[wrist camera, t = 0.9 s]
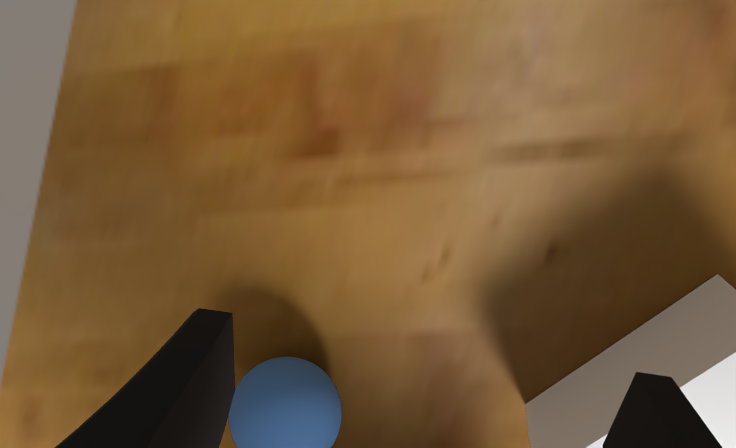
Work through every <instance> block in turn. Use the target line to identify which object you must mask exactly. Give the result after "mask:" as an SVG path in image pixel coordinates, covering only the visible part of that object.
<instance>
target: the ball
mask: <svg viewBox="0 0 736 448" xmlns="http://www.w3.org/2000/svg"><path fill="white" fill-rule="evenodd" d="M341 419H342V407H341V401H340V397H339V394H338V391H337V389H336V386H335V385H334V383H333V381H332V380H331V379H330V377H329V376H328V375H327V374H326V373H325V372H324V371H323V370H322V369H321V368H320V367H318V366H317V365H315V364H313V363H312V362H309V361H307V360H304V359H301V358H296V357H278V358H273V359H270V360H267V361H264V362H262V363H260V364H258V365H257V366H255V367H254V368H252V369H251V370H250V371H249V372H248V373H247V374H246V375H245V376H244V377H243V378H242V379H241V381H240V382H239V384H238V385H237V387H236V389H235V392H234V396H233V400H232V403H231V407H230V411H229V427H230V432H231V435H232V438H233V440H234V442H235V444H236V446H237V448H331V447H332V445H333V444H334V442H335V440H336V438H337V436H338V433H339V429H340V425H341Z"/></svg>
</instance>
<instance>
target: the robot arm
mask: <svg viewBox="0 0 736 448" xmlns="http://www.w3.org/2000/svg"><path fill="white" fill-rule="evenodd" d="M234 392H235V372H234V345H233V317H232V313H228V312H221V311H214V310H208V309H201V308H199V309H197V310H196V311H194V312H193V313H192V314H191V316H190V317H189V318H188V319H187V320H186V321H185V322H184V323H183V325H182V326H181V327H180V328H179V329H178V330H177V331H176V332H175V334H174V335H173V336H172V337H171V338H170V339H169V340H168V341H167V342H166V343H165V344H164V346H163V347H162V348H161V349H160V350H159V351H158V352H157V353H156V354H155V355H154V356H153V357H152V358H151V359H150V360H149V361H148V362H147V363H146V364H145V365H144V366H143V367H142V368H141V369H140V370H139V371H138V372H137V373H136V374H135V375H134V376H133V377H132V378H131V379H130V380H129V381H128V382H127V383H126V384H125V385H124V386H123V387H122V388H121V389H120V390H119V391H118V392H117V393H116V394H115V395H114V396H113V397H112V398H111V399H110V400H109V401H108V402H106V403H105V404H104V405H103V406H102V407H101V408H100V409H99V410H97V411H96V412H95V413H94V414H93V415H92V416H91V417H90V418H89V419H87V420H86V421H85V422H84V423H83V424H82V425H81V426H80V427H79V428H77V429H76V430H75V431H74V432H73V433H72V434H71V435H69V436H68V437H67V438H66V439H65V440H63V441H62V442H61V443H60V444H59V445H57V446H56V447H55V448H218V447H219V445H220V442H221V439H222V436H223V432H224V429H225V425H226V422H227V418H228V414H229V411H230V407H231V403H232V400H233V396H234ZM603 448H722V446H721V445H720V443H719V442H718V441H717V439H716V438H715V437H714V435H713V434H712V432H711V431H710V430H709V428H708V427H707V426H706V424H705V423H704V421H703V420H702V419H701V417H700V416H699V414H698V413H697V412H696V410H695V409H694V407H693V406H692V405H691V403H690V402H689V400H688V399H687V398H686V396H685V395H684V394H683V392H682V391H681V389H680V388H679V387H678V385H677V384H676V382H675V381H674V380H673V378H672V377H669V376H662V375H655V374H648V373H641V372H636V373H635V375H634V378H633V380H632V382H631V384H630V386H629V389H628V391H627V393H626V395H625V397H624V399H623V402H622V404H621V406H620V408H619V410H618V413H617V415H616V417H615V419H614V421H613V423H612V426H611V428H610V430H609V432H608V434H607V437H606V439H605V441H604V443H603Z"/></svg>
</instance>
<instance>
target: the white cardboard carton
mask: <svg viewBox="0 0 736 448" xmlns="http://www.w3.org/2000/svg"><path fill="white" fill-rule="evenodd" d="M636 372H641V373H648V374H655V375H662V376H669V377H672V378H673V380H674V381H675V382H676V384H677V385H678V387H679V388H680V389H681V391H682V392H683V394H684V395H685V396H686V398H687V399H688V400H689V402H690V403H691V405H692V406H693V407H694V409H695V410H696V412H697V413H698V414H699V416H700V417H701V419H702V420H703V421H704V423H705V424H706V426H707V427H708V428H709V430H710V431H711V432H712V434H713V435H714V437H715V438H716V439H717V441H718V442H719V443H720V445H721V446H722V448H736V290H735V289H734V288H733V287H732V286H731V285H730V284H729V283H727V282H726V281H725V280H724V279H723V278H722V277H721V276H720V275H718V274H717V275H715V276H714V277H712V278H711V279H709V280H708V281H706V282H705V283H703V284H702V285H701V286H699V287H698V288H696V289H695V290H693V291H692V292H690V293H689V294H687V295H686V296H684V297H683V298H681V299H680V300H678V301H677V302H675V303H674V304H672V305H671V306H669V307H668V308H667V309H665V310H664V311H662V312H661V313H659V314H658V315H656V316H655V317H653V318H652V319H650V320H649V321H647V322H646V323H644V324H643V325H641V326H640V327H638V328H637V329H636V330H634V331H633V332H631V333H630V334H628V335H627V336H625V337H624V338H622V339H621V340H619V341H618V342H616V343H615V344H613V345H612V346H610V347H609V348H607V349H606V350H604V351H603V352H602V353H600V354H599V355H597V356H596V357H594V358H593V359H591V360H590V361H588V362H587V363H585V364H584V365H582V366H581V367H579V368H578V369H576V370H575V371H573V372H572V373H571V374H569V375H568V376H566V377H565V378H563V379H562V380H560V381H559V382H557V383H556V384H554V385H553V386H551V387H550V388H548V389H547V390H545V391H544V392H542V393H541V394H539V395H538V396H537V397H535V398H534V399H532V400H531V401H529V402H528V403H526V404H525V408H526V416H527V424H528V432H529V441H530V448H603V443H604V441H605V439H606V437H607V434H608V432H609V430H610V428H611V426H612V423H613V421H614V419H615V417H616V415H617V413H618V410H619V408H620V406H621V404H622V402H623V399H624V397H625V395H626V393H627V391H628V389H629V386H630V384H631V382H632V380H633V378H634V375H635V373H636Z"/></svg>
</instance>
